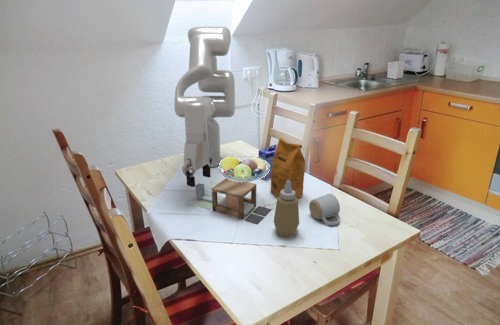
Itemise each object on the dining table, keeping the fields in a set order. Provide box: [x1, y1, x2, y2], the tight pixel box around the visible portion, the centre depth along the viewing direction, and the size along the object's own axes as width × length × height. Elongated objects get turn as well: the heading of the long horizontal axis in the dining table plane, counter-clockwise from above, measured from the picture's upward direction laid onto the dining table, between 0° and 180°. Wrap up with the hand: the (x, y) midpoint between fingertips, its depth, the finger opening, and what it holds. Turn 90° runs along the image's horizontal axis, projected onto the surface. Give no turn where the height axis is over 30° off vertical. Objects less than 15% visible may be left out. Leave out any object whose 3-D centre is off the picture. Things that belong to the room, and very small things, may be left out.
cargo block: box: [225, 194, 239, 209], centre depth 126 cm, size 4×4×4 cm
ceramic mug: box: [308, 193, 341, 227], centre depth 120 cm, size 11×8×8 cm
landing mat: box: [188, 192, 225, 210], centre depth 132 cm, size 9×10×1 cm
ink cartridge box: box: [258, 143, 278, 181], centre depth 151 cm, size 10×6×14 cm, turn 130°
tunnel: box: [211, 177, 257, 220], centre depth 125 cm, size 12×10×9 cm
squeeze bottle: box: [273, 180, 300, 237], centre depth 110 cm, size 8×8×18 cm
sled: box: [194, 182, 254, 217], centre depth 128 cm, size 22×7×6 cm, turn 62°
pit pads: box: [243, 205, 272, 225], centre depth 123 cm, size 5×11×1 cm, turn 152°
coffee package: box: [270, 137, 306, 198], centre depth 133 cm, size 10×12×22 cm
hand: (199, 181), depth 130 cm, fingers open, 9 cm apart
